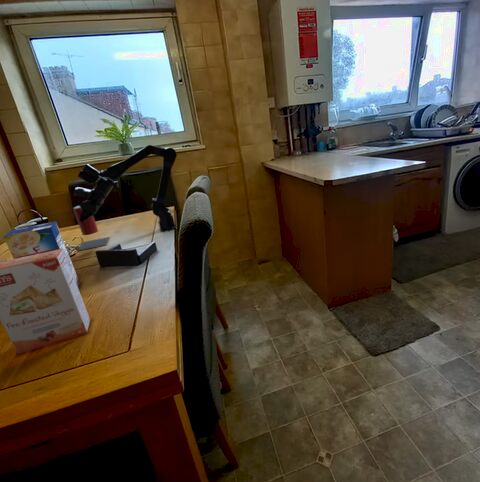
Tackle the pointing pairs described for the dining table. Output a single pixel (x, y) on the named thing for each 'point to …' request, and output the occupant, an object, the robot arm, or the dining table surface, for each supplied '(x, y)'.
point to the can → (85, 222)
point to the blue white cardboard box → (37, 242)
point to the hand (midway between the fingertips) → (82, 219)
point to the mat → (93, 244)
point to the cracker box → (40, 301)
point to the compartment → (124, 256)
